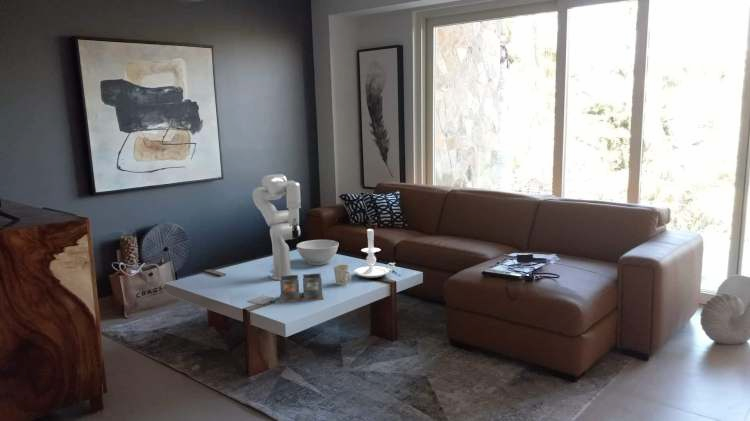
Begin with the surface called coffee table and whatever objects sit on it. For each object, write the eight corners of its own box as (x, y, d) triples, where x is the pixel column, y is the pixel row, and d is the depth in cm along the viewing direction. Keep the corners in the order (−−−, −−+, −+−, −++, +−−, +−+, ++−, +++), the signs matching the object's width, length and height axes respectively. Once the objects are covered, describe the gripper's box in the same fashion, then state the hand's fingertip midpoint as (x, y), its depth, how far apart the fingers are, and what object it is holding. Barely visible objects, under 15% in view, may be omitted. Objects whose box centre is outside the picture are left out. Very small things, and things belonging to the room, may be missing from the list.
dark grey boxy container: (280, 302, 299) (278, 281, 298) (280, 295, 310) (279, 275, 308) (323, 299, 303) (322, 278, 301) (322, 292, 313) (321, 272, 311)
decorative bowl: (347, 260, 381) (347, 241, 379) (322, 270, 359) (321, 250, 357) (314, 255, 395) (313, 238, 393) (288, 265, 373) (287, 246, 371)
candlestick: (390, 282, 329) (389, 233, 324) (348, 280, 336) (347, 231, 332) (400, 272, 348) (399, 226, 344) (360, 270, 356) (358, 224, 351)
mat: (247, 301, 302) (247, 300, 302) (263, 295, 311) (263, 295, 311) (262, 305, 296) (262, 304, 296) (278, 299, 305) (278, 298, 305)
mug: (342, 280, 335) (341, 263, 333) (357, 284, 326) (356, 267, 325) (331, 283, 329) (330, 266, 328) (346, 288, 320) (345, 270, 319)
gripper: (286, 203, 327) (288, 233, 330) (286, 207, 310) (288, 239, 313) (300, 202, 328) (301, 232, 331) (301, 207, 311) (302, 238, 314)
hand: (295, 236), depth 322 cm, fingers open, 9 cm apart
